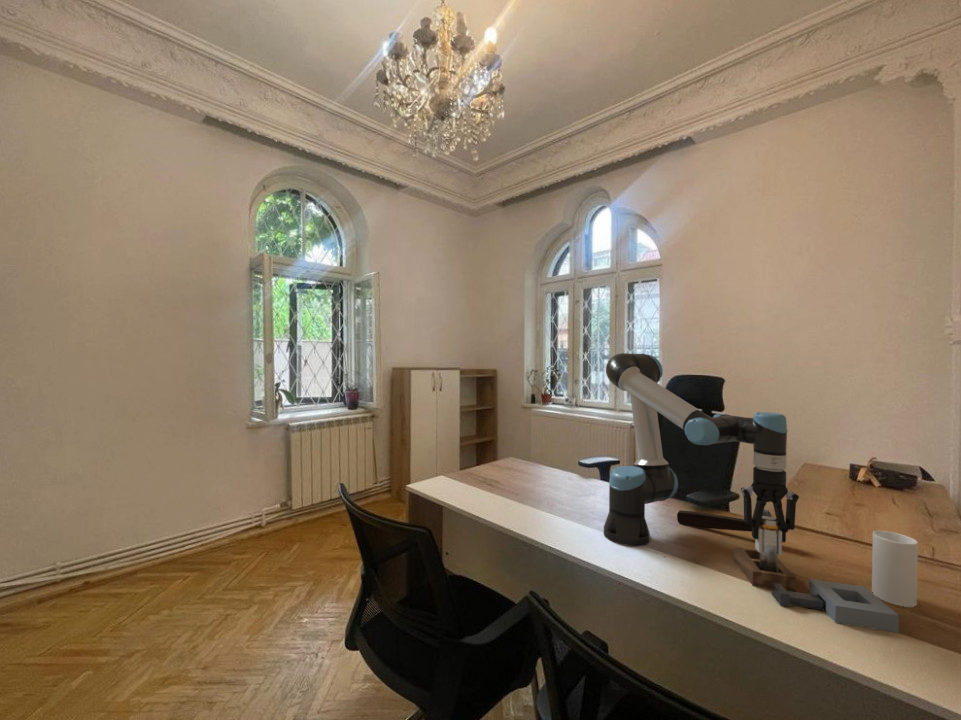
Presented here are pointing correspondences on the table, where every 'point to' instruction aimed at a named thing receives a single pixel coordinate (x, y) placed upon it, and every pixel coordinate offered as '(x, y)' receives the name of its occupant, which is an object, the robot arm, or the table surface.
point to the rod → (769, 544)
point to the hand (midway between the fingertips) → (768, 551)
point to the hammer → (714, 521)
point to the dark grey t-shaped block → (797, 598)
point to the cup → (895, 568)
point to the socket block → (855, 606)
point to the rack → (750, 567)
